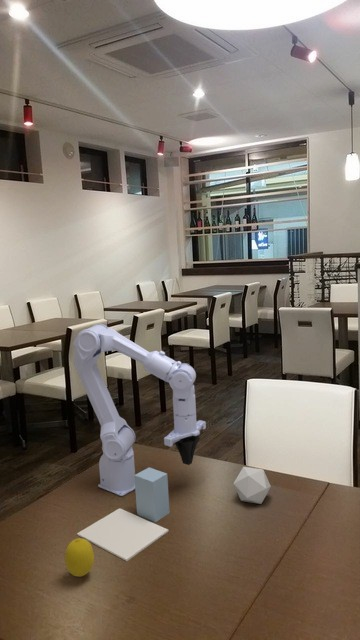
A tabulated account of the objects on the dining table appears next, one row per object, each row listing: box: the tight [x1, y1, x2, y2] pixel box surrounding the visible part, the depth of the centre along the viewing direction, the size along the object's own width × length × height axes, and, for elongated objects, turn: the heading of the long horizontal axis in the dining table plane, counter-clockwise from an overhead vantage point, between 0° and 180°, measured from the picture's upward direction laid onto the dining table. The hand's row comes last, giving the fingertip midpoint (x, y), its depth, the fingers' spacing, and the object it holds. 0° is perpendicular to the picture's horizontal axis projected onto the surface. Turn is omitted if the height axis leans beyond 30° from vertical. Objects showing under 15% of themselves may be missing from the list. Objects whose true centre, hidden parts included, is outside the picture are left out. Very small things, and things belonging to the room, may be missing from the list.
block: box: [134, 467, 171, 523], centre depth 117 cm, size 6×5×10 cm
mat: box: [76, 507, 170, 562], centre depth 110 cm, size 16×13×1 cm
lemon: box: [64, 537, 95, 578], centre depth 96 cm, size 6×6×8 cm
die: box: [233, 466, 272, 505], centre depth 121 cm, size 8×9×10 cm
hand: (187, 463), depth 127 cm, fingers closed
